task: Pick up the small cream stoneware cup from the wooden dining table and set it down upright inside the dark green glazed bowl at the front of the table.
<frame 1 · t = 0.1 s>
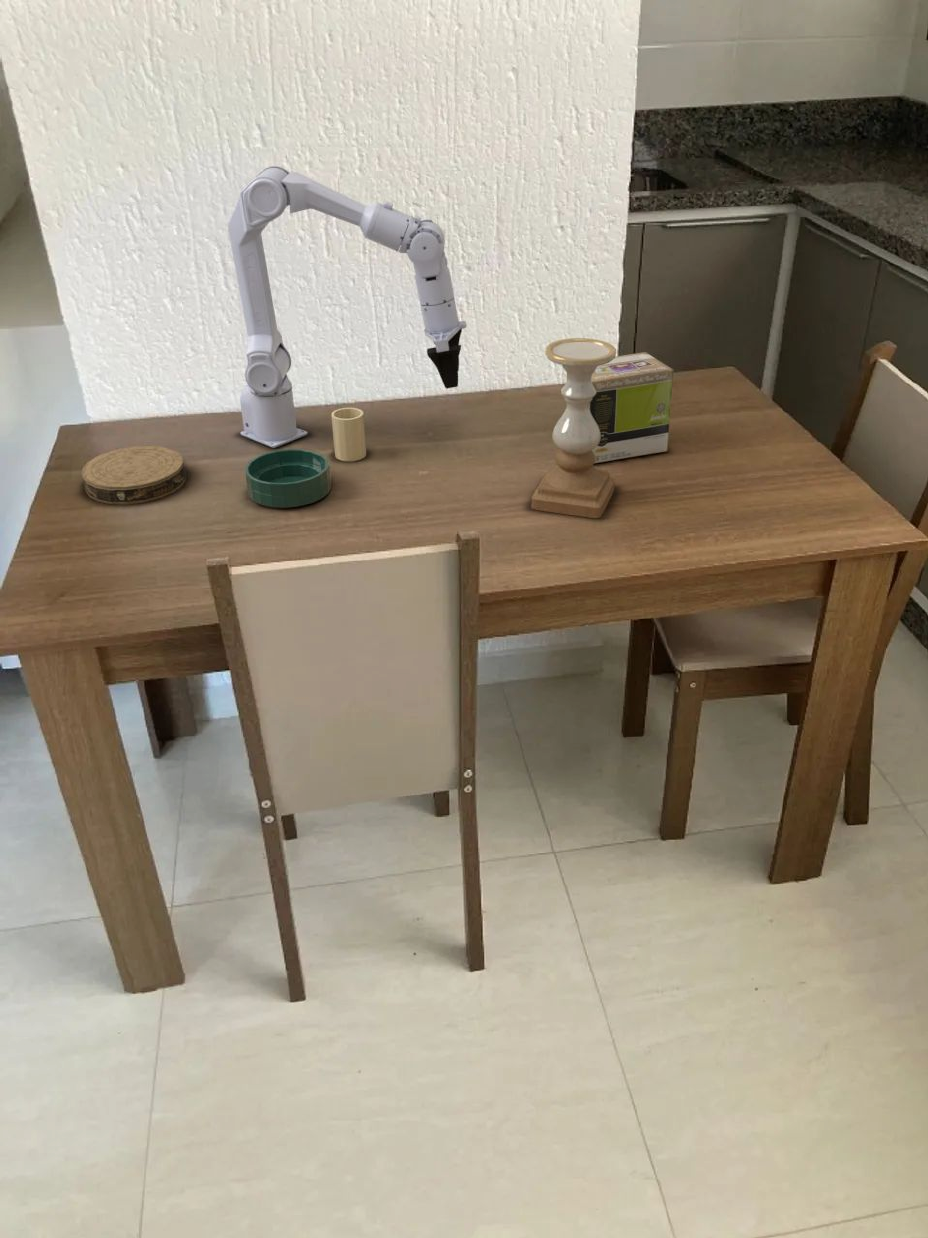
hand: (452, 378, 175), 11 cm above the table, tool pointing down, fingers open, 7 cm apart
candle holder: (573, 499, 159), on the table
cup: (350, 454, 174), on the table
tin can: (136, 483, 167), on the table
tea box: (614, 449, 175), on the table
bowl: (290, 491, 163), on the table
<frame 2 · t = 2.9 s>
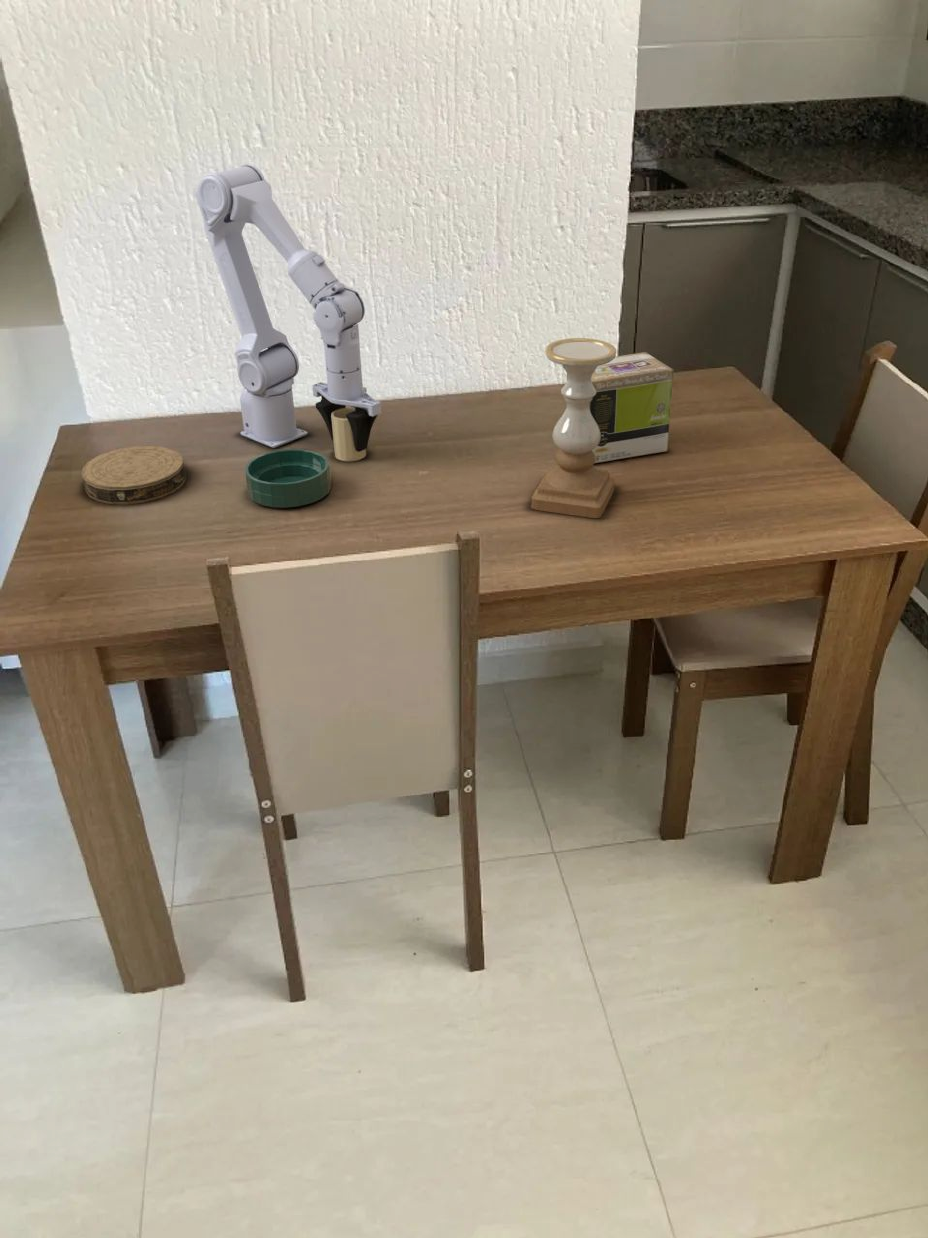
hand: (350, 445, 173), 2 cm above the table, tool pointing down, fingers closed on cup, 5 cm apart
cup: (350, 454, 174), on the table, touching gripper
everything else where it was.
when the fingers open (2 cm above the table, at t = 8.1 s): cup stays where it is, resting on bowl.
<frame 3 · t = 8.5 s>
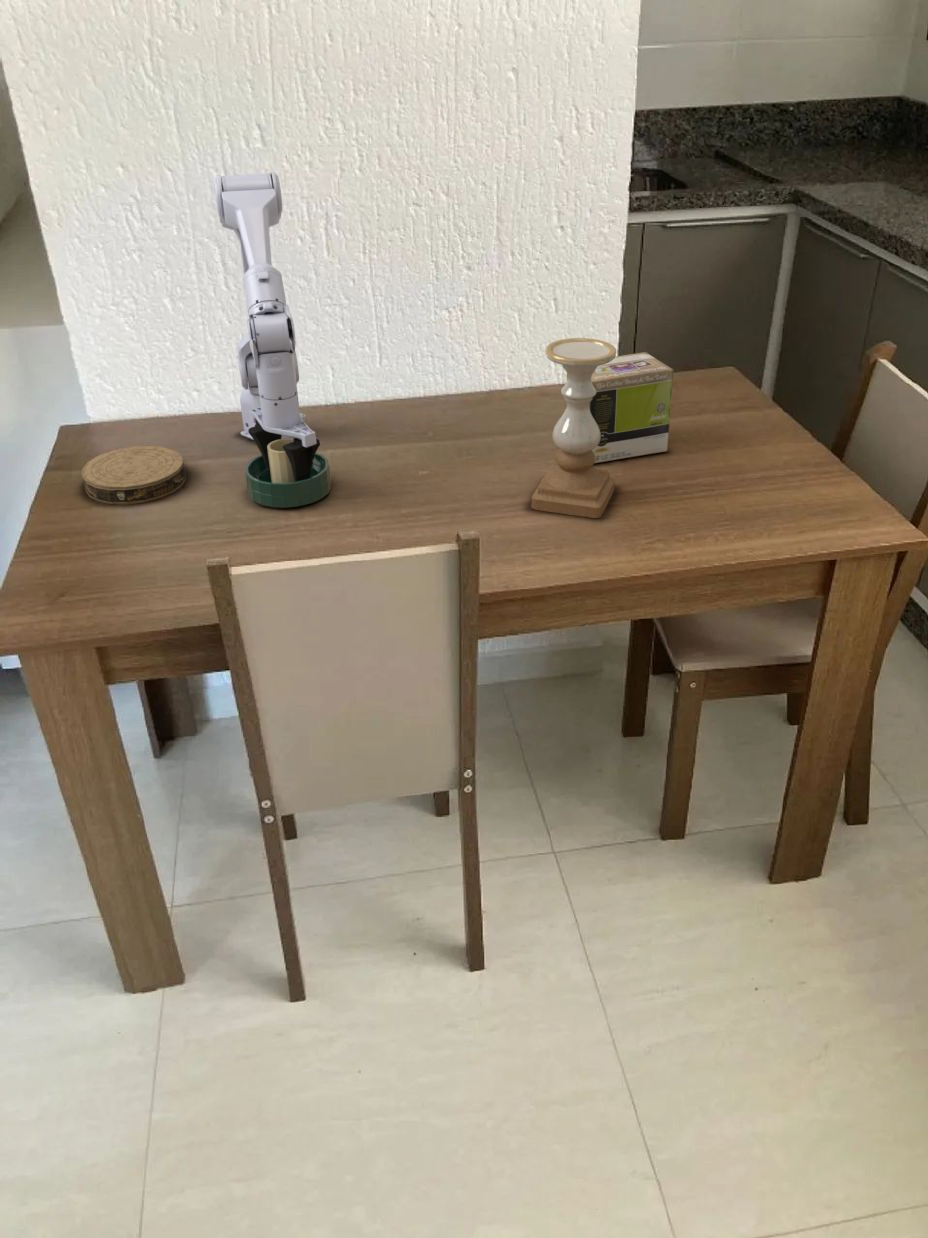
hand: (288, 475, 161), 3 cm above the table, tool pointing down, fingers open, 7 cm apart
cup: (289, 488, 163), resting on bowl
everything else where it was.
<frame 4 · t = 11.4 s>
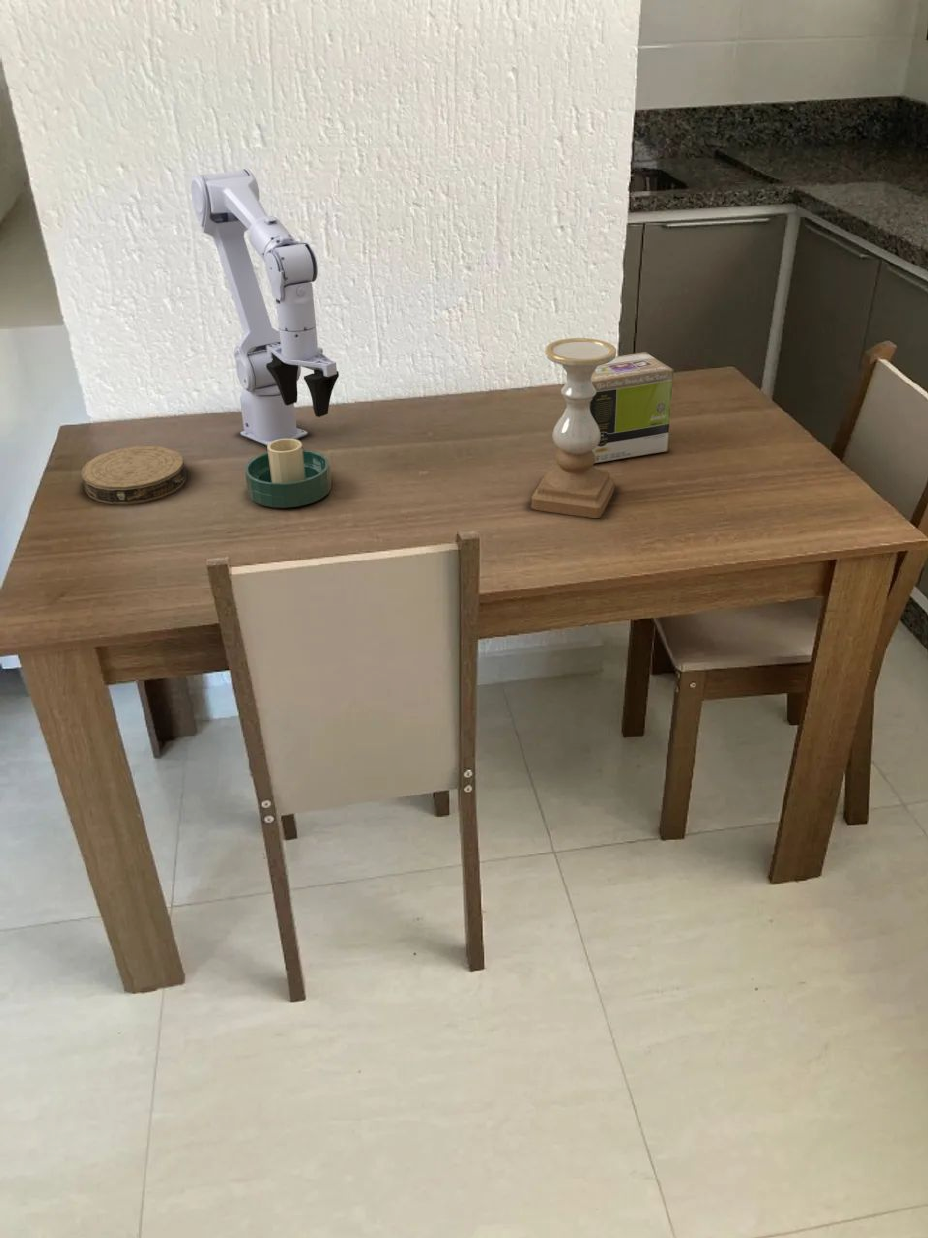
hand: (306, 409, 166), 10 cm above the table, tool pointing down, fingers open, 7 cm apart
nothing on the table moved.
at the end: cup 0.0 cm off-centre in the bowl, point 0.5 cm above the bowl's base; cup tilted 0°; the gripper is holding nothing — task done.
